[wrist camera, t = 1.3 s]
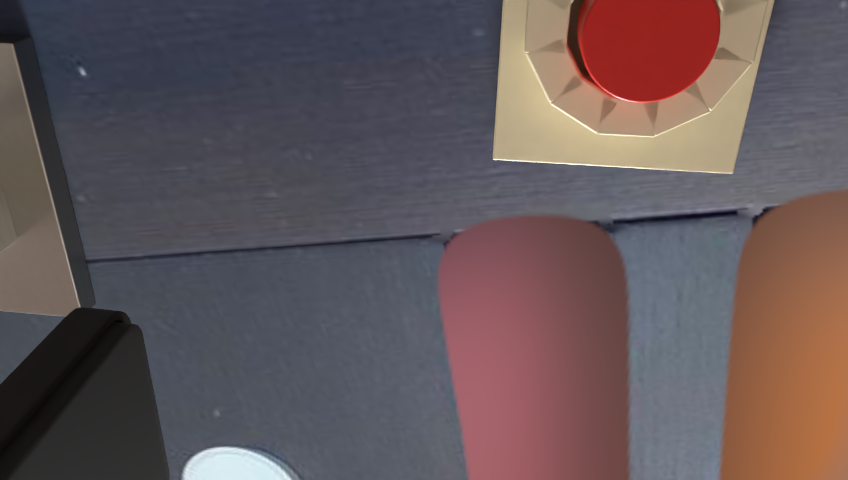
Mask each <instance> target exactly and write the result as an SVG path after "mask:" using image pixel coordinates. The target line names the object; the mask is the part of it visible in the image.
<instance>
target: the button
mask: <svg viewBox="0 0 848 480" xmlns="http://www.w3.org/2000/svg"><path fill="white" fill-rule="evenodd" d="M719 37H720V15H719V11H718V7H717V4H716V2H715V0H584V1H583V4H582V6H581V9H580V12H579V16H578V22H577V38H578V43H579V47H580V51H581V54H582V57H583V61H584V63H585V66H586V69H587V70H588V72H589V74H590V76H591V77H592V79H593V80H594V81H595V82H596V83H597V84H598V85H599V86H600V87H601V88H602V89H603V90H604V91H606V92H607V93H609V94H611V95H612V96H614V97H616V98H619V99H622V100H625V101H629V102H637V103H649V102H656V101H660V100H664V99H667V98H670V97H672V96H674V95H676V94H678V93H680V92H682V91H683V90H685V89H686V88H688V87H689V86H691V85H692V84H693V83H694V82H695V81H696V80H697V79H698V78H699V77H700V76H701V75H702V74H703V73H704V71H705V70H706V69H707V67H708V66H709V64H710V62H711V61H712V59H713V57H714V54H715V52H716V50H717V46H718V42H719Z"/></svg>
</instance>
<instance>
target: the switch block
mask: <svg viewBox="0 0 848 480" xmlns="http://www.w3.org/2000/svg"><path fill="white" fill-rule="evenodd" d="M583 1H584V0H503V8H502V24H501V39H500V54H499V70H498V85H497V100H496V116H495V131H494V147H493V159H494V160H509V161H525V162H542V163H559V164H576V165H593V166H610V167H627V168H643V169H660V170H677V171H694V172H711V173H728V174H733V172H734V167H735V163H736V159H737V155H738V151H739V147H740V142H741V138H742V134H743V130H744V126H745V121H746V117H747V113H748V109H749V105H750V100H751V96H752V92H753V88H754V84H755V79H756V75H757V71H758V67H759V63H760V58H761V54H762V50H763V46H764V42H765V38H766V33H767V29H768V25H769V21H770V17H771V12H772V8H773V4H774V0H715V2H716V4H717V7H718V11H719V15H720V37H719V42H718V46H717V50H716V52H715V54H714V57H713V59H712V61H711V62H710V64H709V66H708V67H707V69H706V70H705V71H704V73H703V74H702V75H701V76H700V77H699V78H698V79H697V80H696V81H695V82H694V83H693V84H692V85H691V86H689V87H688V88H686V89H685V90H683V91H682V92H680V93H678V94H676V95H674V96H672V97H670V98H667V99H664V100H660V101H656V102H649V103H637V102H629V101H625V100H622V99H619V98H616V97H614V96H612V95H611V94H609V93H607V92H606V91H604V90H603V89H602V88H601V87H600V86H599V85H598V84H597V83H596V82H595V81H594V80H593V79H592V77H591V76H590V74H589V72H588V70H587V69H586V66H585V63H584V61H583V57H582V54H581V51H580V47H579V43H578V38H577V22H578V16H579V12H580V9H581V6H582V4H583Z"/></svg>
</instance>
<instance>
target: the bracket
mask: <svg viewBox="0 0 848 480" xmlns="http://www.w3.org/2000/svg"><path fill="white" fill-rule="evenodd" d="M95 304H96V302H95V297H94V293H93V289H92V285H91V281H90V277H89V273H88V268H87V264H86V260H85V256H84V252H83V248H82V244H81V240H80V235H79V231H78V227H77V223H76V219H75V215H74V211H73V206H72V202H71V198H70V194H69V190H68V186H67V182H66V177H65V173H64V169H63V165H62V161H61V157H60V153H59V149H58V144H57V140H56V136H55V132H54V128H53V124H52V120H51V115H50V111H49V107H48V103H47V99H46V95H45V91H44V87H43V82H42V78H41V74H40V70H39V66H38V62H37V58H36V53H35V49H34V45H33V41H32V38H31V37H29V36H7V35H0V311H8V312H20V313H31V314H43V315H55V316H67V315H68V314H69V313H70V312H72V311H73V310H74V309H76V308H80V307H84V308H92V307H93V306H94V305H95Z"/></svg>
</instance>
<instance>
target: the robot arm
mask: <svg viewBox="0 0 848 480" xmlns="http://www.w3.org/2000/svg"><path fill="white" fill-rule="evenodd" d="M169 476H170V475H169V467H168V462H167V457H166V451H165V446H164V441H163V436H162V431H161V426H160V421H159V416H158V410H157V405H156V400H155V395H154V390H153V385H152V380H151V374H150V369H149V364H148V359H147V354H146V349H145V344H144V339H143V334H142V331H141V328H140V327H139V326H138V325H135V324H131V321H130V318H129V317H128V316H127V314H126V313H124V312H121V311H112V310H103V309H94V308H84V307H80V308H76V309H74V310H73V311H72V312H70V313H69V314H68V315H67V316H66V317H65V318H64V319H63V320H62V321H61V322H60V323H59V324H58V325H57V327H56V328H55V329H54V330H53V331H52V332H51V333H50V334H49V335H48V336H47V337H46V338H45V339H44V340H43V341H42V342H41V343H40V344H39V345H38V346H37V347H36V348H35V349H34V350H33V351H32V352H31V353H30V354H29V355H28V357H27V358H26V359H25V360H24V361H23V362H22V363H21V364H20V365H19V366H18V367H17V368H16V369H15V370H14V371H13V372H12V373H11V374H10V375H9V376H8V377H7V378H6V379H5V380H4V381H3V382H2V383H1V384H0V480H169Z"/></svg>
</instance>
